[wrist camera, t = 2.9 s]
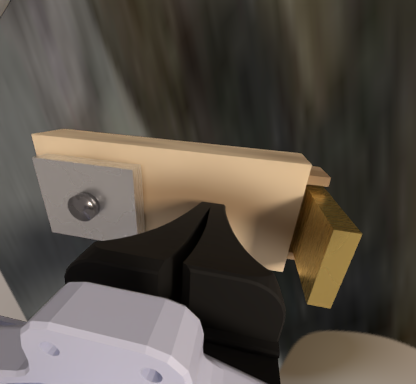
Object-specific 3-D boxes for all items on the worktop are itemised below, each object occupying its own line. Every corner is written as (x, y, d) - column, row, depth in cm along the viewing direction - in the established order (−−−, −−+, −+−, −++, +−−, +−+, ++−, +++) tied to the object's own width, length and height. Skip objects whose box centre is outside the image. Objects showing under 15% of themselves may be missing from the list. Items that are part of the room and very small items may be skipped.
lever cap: (145, 237, 14) (133, 253, 13) (63, 223, 15) (44, 237, 14) (141, 164, 12) (126, 173, 11) (47, 153, 13) (21, 159, 12)
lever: (304, 241, 14) (330, 308, 10) (289, 239, 14) (306, 303, 10) (321, 185, 13) (362, 234, 8) (304, 183, 13) (334, 229, 8)
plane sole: (295, 250, 16) (303, 275, 13) (80, 215, 18) (56, 232, 16) (323, 155, 13) (338, 167, 11) (63, 128, 15) (31, 133, 13)
